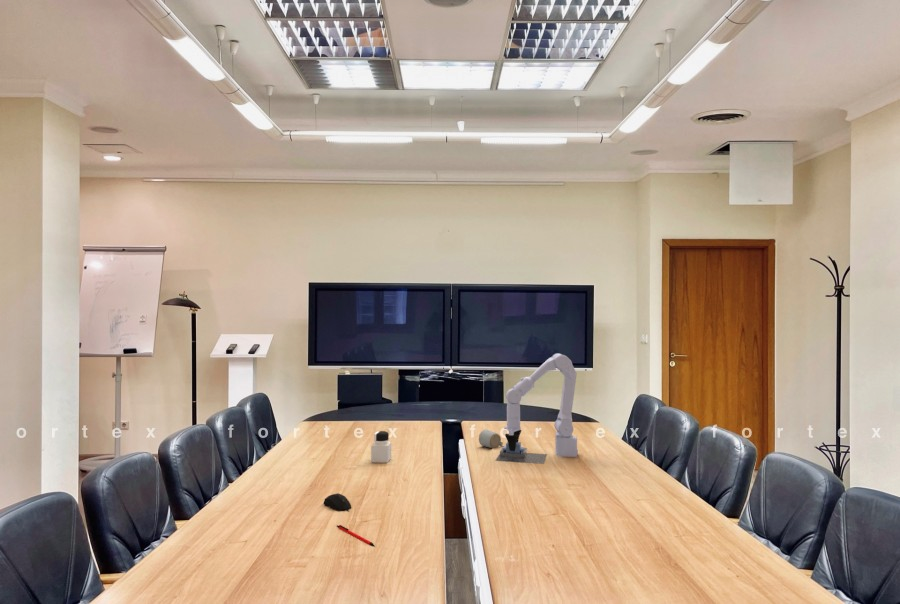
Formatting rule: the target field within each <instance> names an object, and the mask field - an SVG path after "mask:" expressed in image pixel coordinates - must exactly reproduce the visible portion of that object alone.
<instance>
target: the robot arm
mask: <svg viewBox="0 0 900 604" xmlns="http://www.w3.org/2000/svg"><path fill="white" fill-rule="evenodd" d="M556 370H558V371H560V373H561V374H562V375H563V382H562V383H563V384H562V392H561V401H560V406H559V412H558V414H557V419H556V420H555V422H554V429H555V431H556V432H555V433H554V434H555V436H554V437H555V439H554V440H555V444H554V445H555V448H554V449H555V455H556V456H558V457H563V458H564V457H565V458H567V457H569V458H571V457H573V458H577V457H578V452H579V451H578V450H579V449H578V436H576V435H573V433H574V426H573V418H572V417H573V416H572V413H573V405H574V396H575V390H576V382H577V381H576V380H577V372H576V369H575V367H574V365H573V361H572V360H571V359H570V358H569V357H568V356H567V355H565V354H562V353H558V352H556V353H554V354H552V356H551V357H548V359H546V360H545V362H543V363H542V364H541V365H540V366H539V367H538V368H536V370H535V371H533V372H532V374H531V375H529V376H523V377H521V378H519V381H518V382H517V383H516V384H515V385H512V387H511V388H510V389H508V390H507V391H506V394H505V398H506V400H507V401H506V426H504V427H503V429H504V430H507V432H508V433H505V434H504V436H505V438H506V440H507V441H506V442H508V445H509V450H510V451H515V448H516V442H519V439H520V435H521V433H522V429H521V406H520V405H521V401H522V397H524V396H526V394H527V393H528V392H530V391H532V389H533V388H534V387H535V383H536V381H538V380H539V379H541V378H542V377H543V376H544V375H545V374H547V373H548V372H551V371H552V372H553V371H556Z"/></svg>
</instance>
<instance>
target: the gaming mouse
mask: <svg viewBox="0 0 900 604" xmlns="http://www.w3.org/2000/svg"><path fill="white" fill-rule="evenodd" d="M323 505H324V506H325V507H326V508H329V509H331V510H333V511H336V512H345V511H346V512H349V513H350V510H351V509H352V504H351V502H350V501H349V499H348V498H347V497H346V496H345V495H344V494H341V493H339V492H337V493H333V494H331V495H328V496H327V497H326V498H324V501H323Z"/></svg>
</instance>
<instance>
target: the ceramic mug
mask: <svg viewBox="0 0 900 604" xmlns="http://www.w3.org/2000/svg"><path fill="white" fill-rule="evenodd" d="M478 443H479V445H481V446H482V447H485V448H490V449H494V448H498V447H499V446H500V447H501V446H502V447H503V445H504V443H503V442H502V440H501V435H500V434H499V433H497V432H496V431H492V430H489V429H485V428H484V429H482V431H480V433H479V436H478Z"/></svg>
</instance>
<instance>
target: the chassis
mask: <svg viewBox="0 0 900 604" xmlns="http://www.w3.org/2000/svg"><path fill="white" fill-rule="evenodd" d="M503 447H504V446H502V447H501V449H500V450H499V455H498V456H497V457H496V459H495V461H496V462H506V463H507V462H508V463H524V464H535V465H536V464H539V465H544V464H545V462H546V459H547V456H548V454H547V453H533V452H528V448H527V447H524V451H521V454H520V453H506V450H503Z"/></svg>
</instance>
